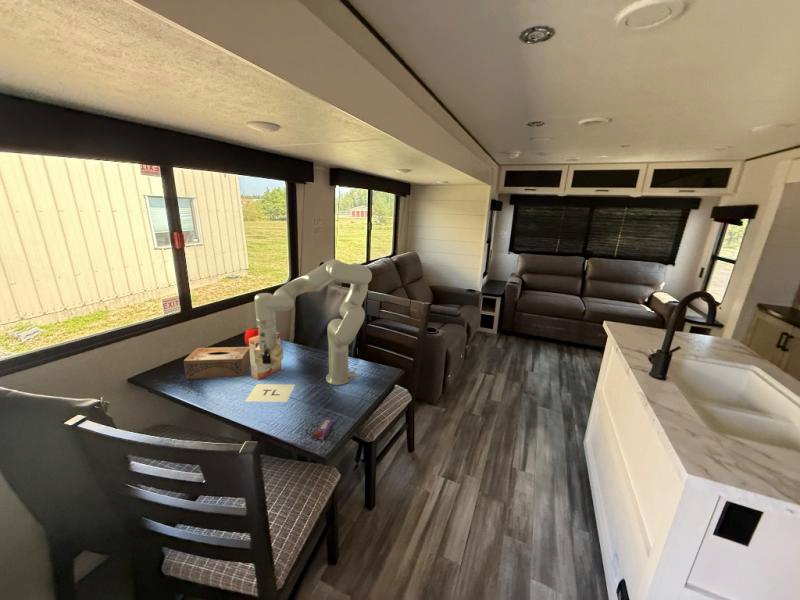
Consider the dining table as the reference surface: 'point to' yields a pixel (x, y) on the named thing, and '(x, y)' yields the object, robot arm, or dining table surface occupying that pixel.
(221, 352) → the tissue box cover
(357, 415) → the dining table surface
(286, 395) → the mat
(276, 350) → the maple block
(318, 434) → the snack package
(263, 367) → the cracker box
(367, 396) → the dining table surface
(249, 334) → the tomato
